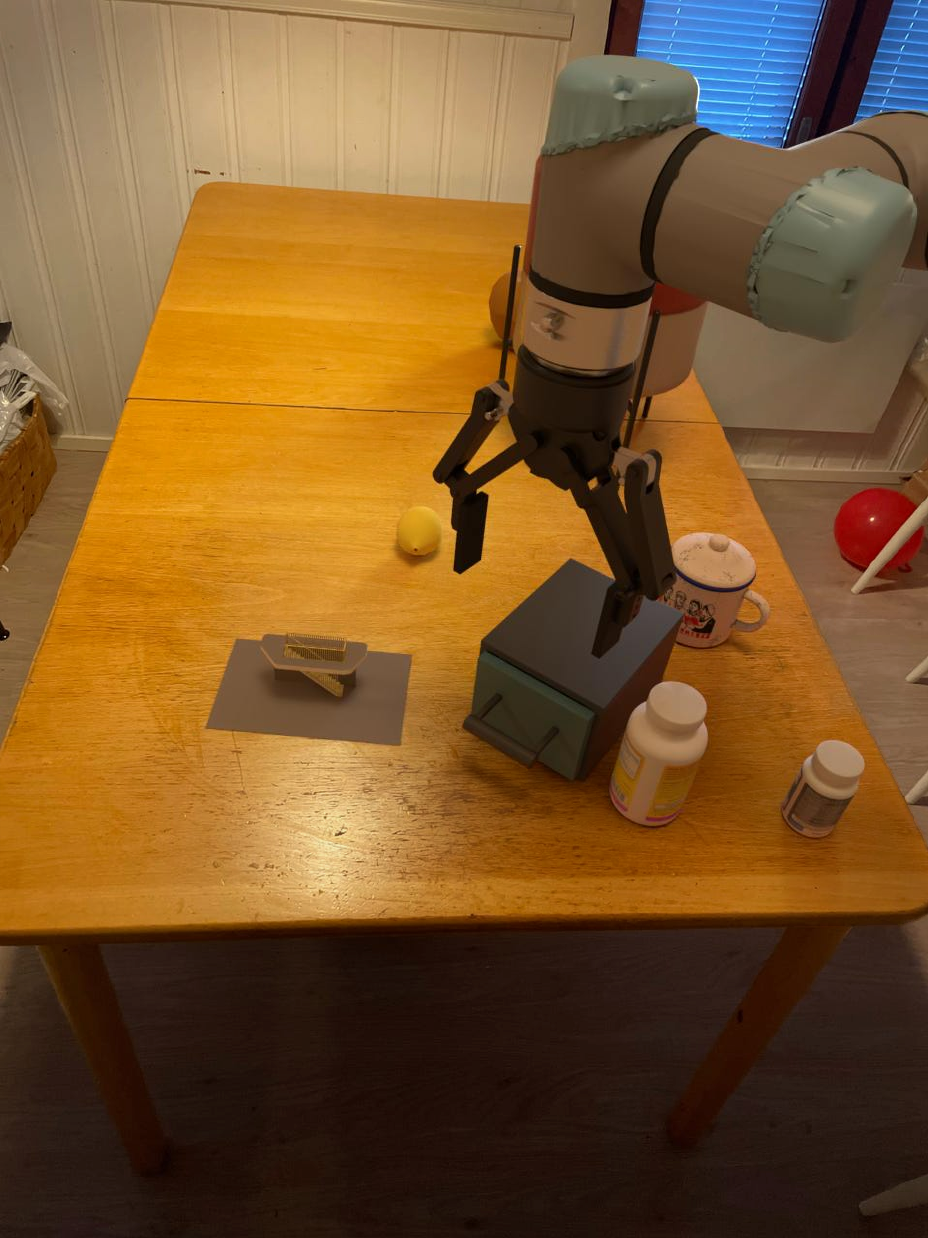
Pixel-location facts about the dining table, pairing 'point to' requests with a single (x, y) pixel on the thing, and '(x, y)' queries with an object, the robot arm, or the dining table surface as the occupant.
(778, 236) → the robot arm
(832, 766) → the pill bottle
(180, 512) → the dining table surface
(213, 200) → the dining table surface
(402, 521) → the lemon
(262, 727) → the platform
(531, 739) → the teal drawer
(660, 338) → the planter
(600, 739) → the drawer cabinet
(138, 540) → the dining table surface
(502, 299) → the apple
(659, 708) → the supplement bottle
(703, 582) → the teacup with lid
